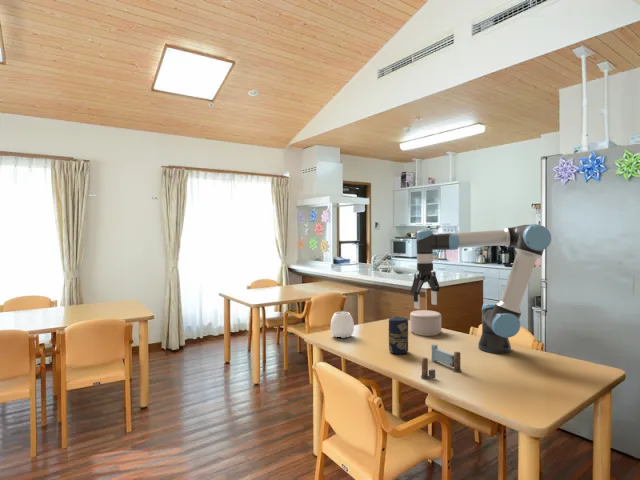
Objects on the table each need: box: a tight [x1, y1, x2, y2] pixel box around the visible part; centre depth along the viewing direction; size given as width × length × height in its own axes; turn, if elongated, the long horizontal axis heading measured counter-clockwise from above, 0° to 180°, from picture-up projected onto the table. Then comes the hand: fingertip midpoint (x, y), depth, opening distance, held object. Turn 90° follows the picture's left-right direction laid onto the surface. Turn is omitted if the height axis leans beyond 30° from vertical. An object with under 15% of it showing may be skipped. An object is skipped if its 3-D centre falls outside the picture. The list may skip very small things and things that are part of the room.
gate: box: [431, 343, 454, 368], centre depth 182 cm, size 13×2×8 cm, turn 25°
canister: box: [387, 315, 409, 355], centre depth 202 cm, size 10×10×18 cm
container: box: [409, 309, 442, 337], centre depth 240 cm, size 18×18×12 cm
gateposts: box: [420, 351, 462, 380], centre depth 170 cm, size 21×4×8 cm, turn 115°
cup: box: [330, 311, 355, 339], centre depth 233 cm, size 13×13×14 cm
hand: (425, 306), depth 197 cm, fingers open, 13 cm apart
